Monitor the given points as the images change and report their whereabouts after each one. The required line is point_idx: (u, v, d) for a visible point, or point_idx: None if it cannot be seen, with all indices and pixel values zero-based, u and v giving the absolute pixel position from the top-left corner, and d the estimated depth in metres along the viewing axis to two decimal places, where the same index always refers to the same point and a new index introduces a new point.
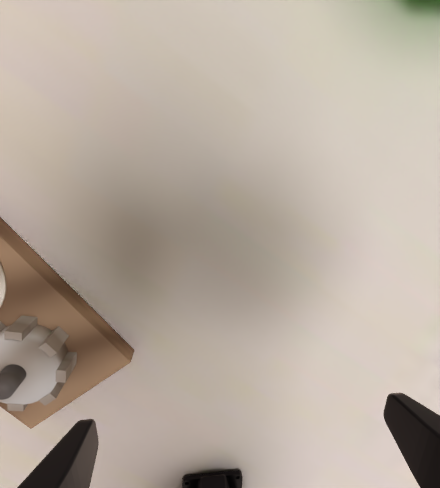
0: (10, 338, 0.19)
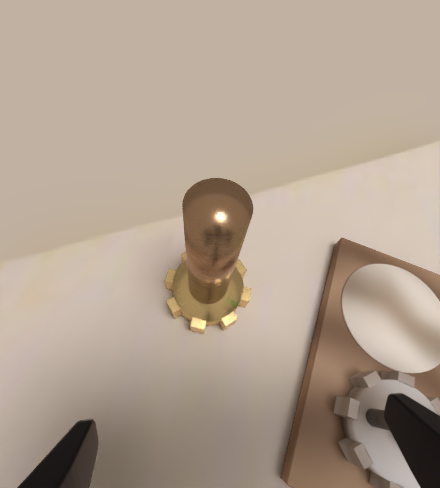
0: (435, 407, 0.18)
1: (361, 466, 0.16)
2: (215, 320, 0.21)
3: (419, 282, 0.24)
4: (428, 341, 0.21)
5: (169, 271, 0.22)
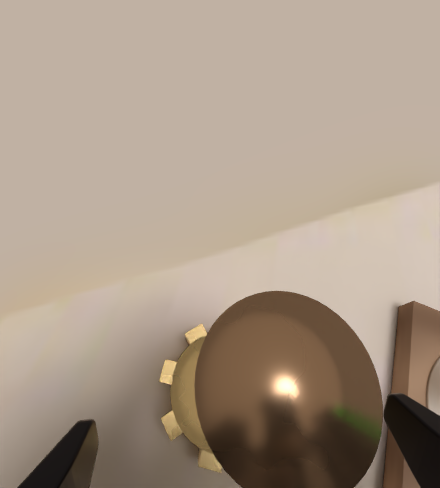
0: None
1: None
2: None
3: None
4: None
5: (166, 364, 0.14)
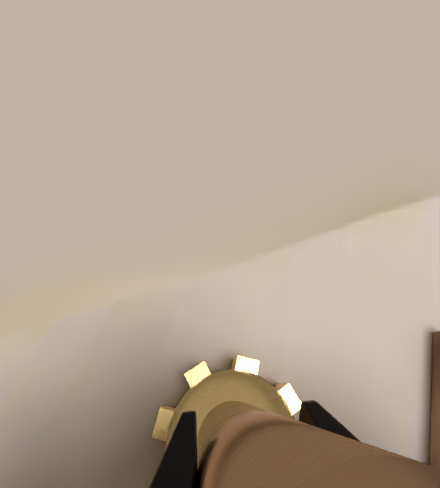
0: None
1: None
2: None
3: None
4: None
5: (160, 414, 0.12)
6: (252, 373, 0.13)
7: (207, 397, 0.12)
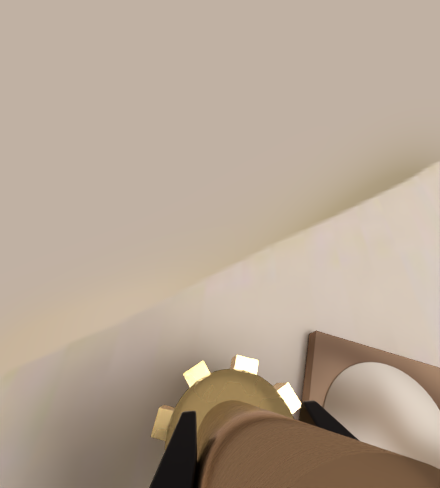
0: None
1: None
2: None
3: (411, 382, 0.20)
4: None
5: (160, 413, 0.12)
6: (251, 373, 0.13)
7: (206, 397, 0.12)
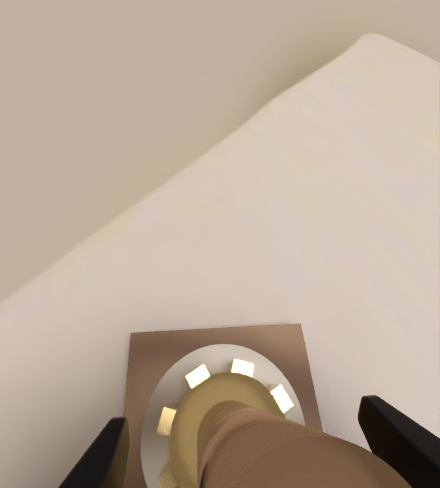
0: None
1: None
2: None
3: (250, 354, 0.16)
4: None
5: (164, 412, 0.13)
6: (247, 375, 0.14)
7: (206, 397, 0.13)
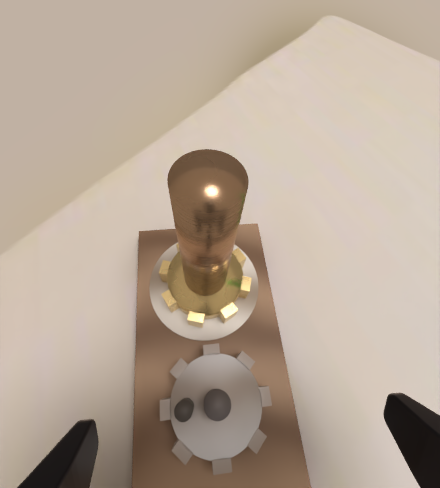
0: (242, 361, 0.18)
1: (184, 462, 0.16)
2: (214, 313, 0.19)
3: None
4: None
5: (163, 262, 0.21)
6: None
7: None
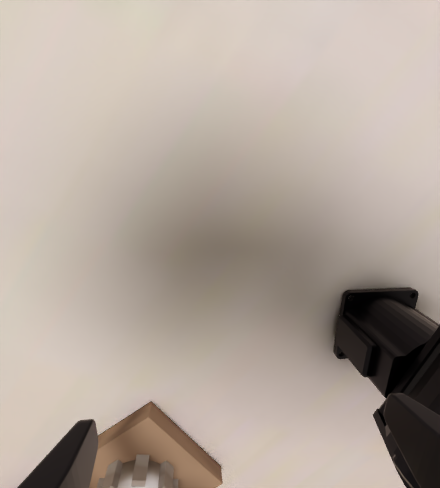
0: None
1: None
2: None
3: None
4: None
5: None
6: None
7: None
